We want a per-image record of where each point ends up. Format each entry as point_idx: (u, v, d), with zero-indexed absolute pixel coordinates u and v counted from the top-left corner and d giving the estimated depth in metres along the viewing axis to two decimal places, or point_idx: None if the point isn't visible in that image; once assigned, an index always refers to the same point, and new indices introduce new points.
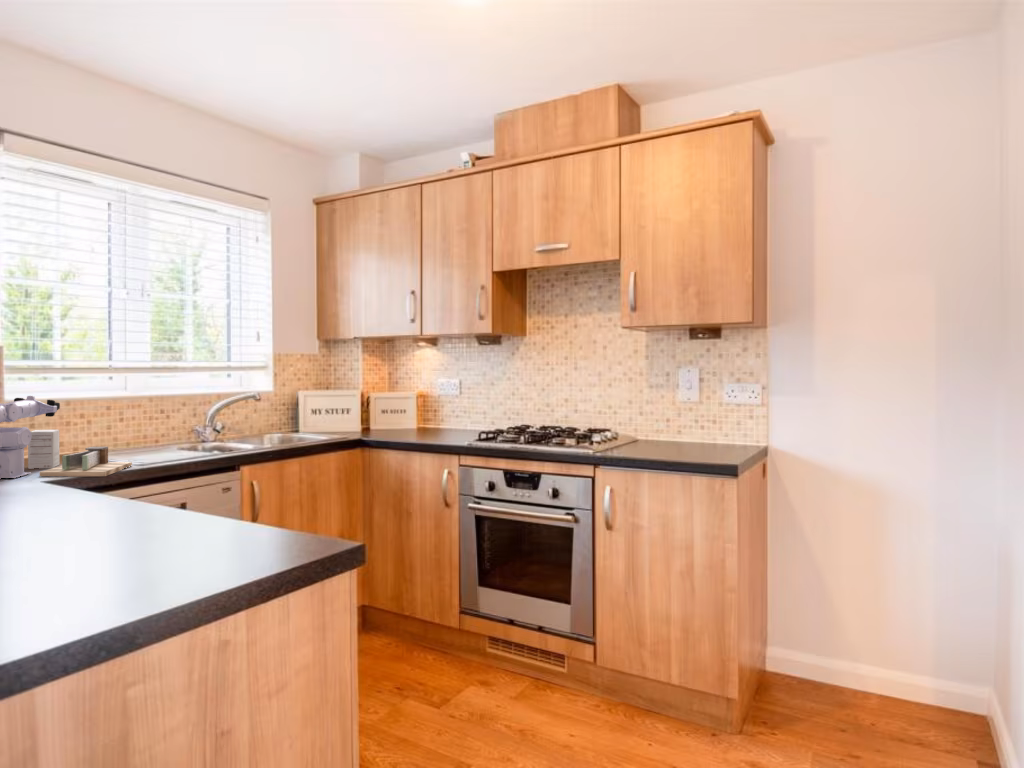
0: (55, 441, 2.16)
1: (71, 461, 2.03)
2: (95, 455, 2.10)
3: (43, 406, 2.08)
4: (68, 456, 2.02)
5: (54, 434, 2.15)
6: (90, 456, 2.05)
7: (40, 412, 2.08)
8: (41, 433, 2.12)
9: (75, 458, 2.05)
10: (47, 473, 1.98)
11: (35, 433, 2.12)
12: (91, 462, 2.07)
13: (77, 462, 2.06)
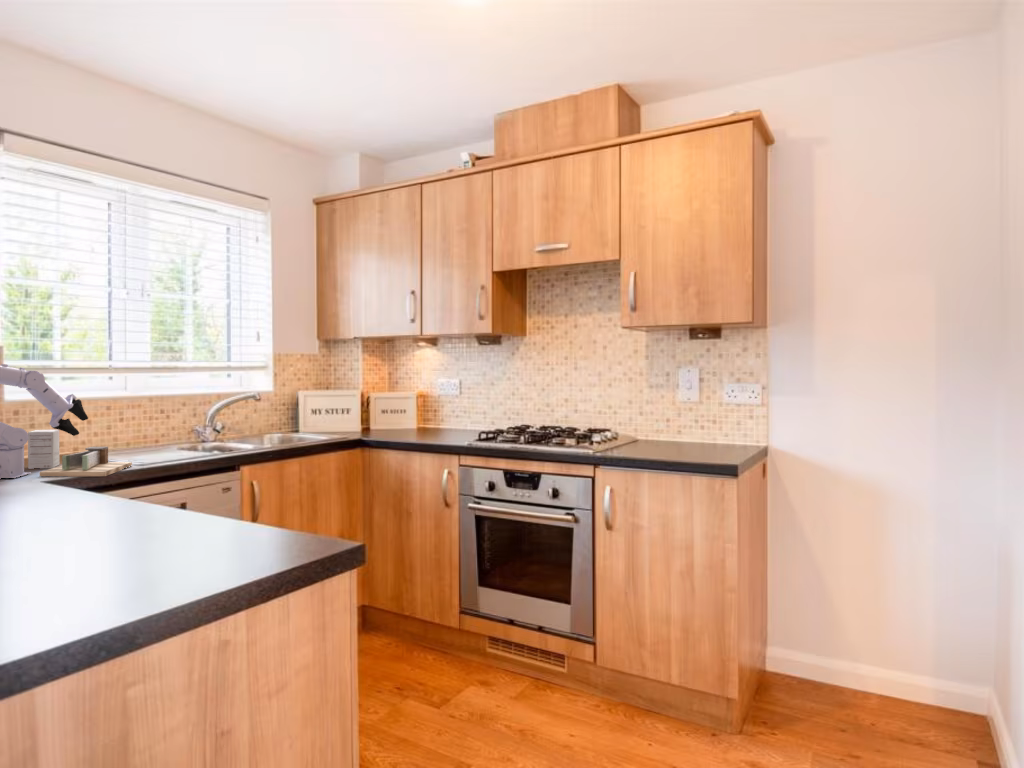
0: (55, 441, 2.16)
1: (71, 461, 2.03)
2: (95, 455, 2.10)
3: None
4: (68, 456, 2.02)
5: (54, 434, 2.15)
6: (90, 456, 2.05)
7: (54, 416, 2.08)
8: (41, 433, 2.12)
9: (75, 458, 2.05)
10: (47, 473, 1.98)
11: (35, 433, 2.12)
12: (91, 462, 2.07)
13: (77, 462, 2.06)
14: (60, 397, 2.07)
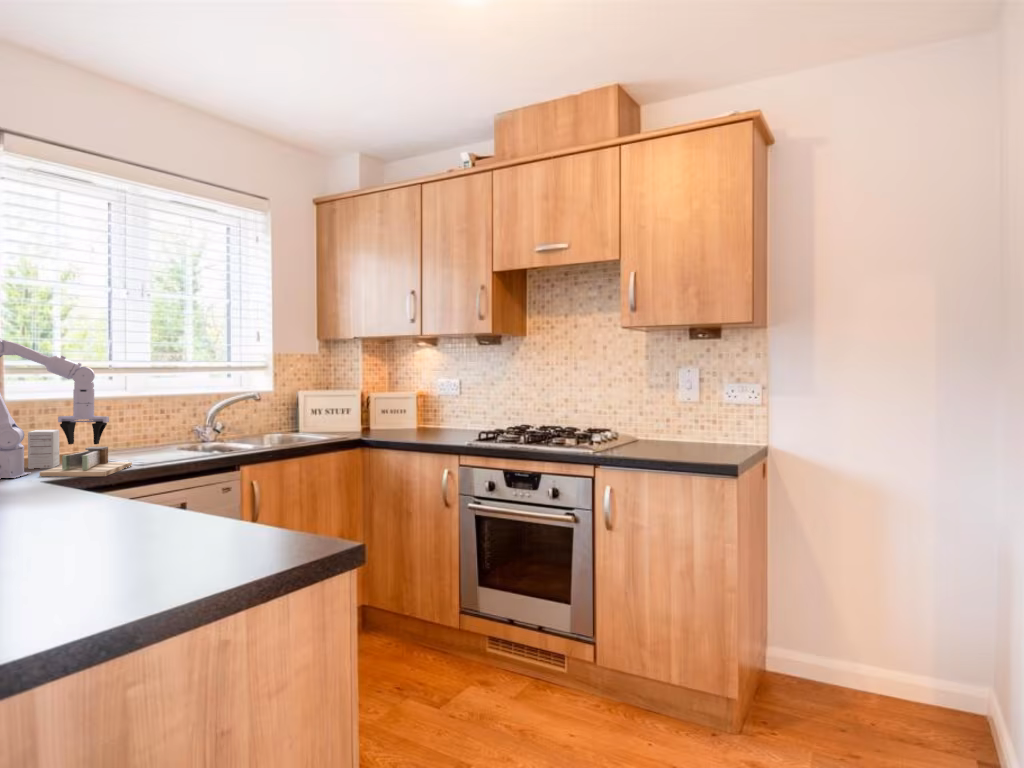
0: (55, 441, 2.16)
1: (71, 461, 2.03)
2: (95, 455, 2.10)
3: None
4: (68, 456, 2.02)
5: (54, 434, 2.15)
6: (90, 456, 2.05)
7: None
8: (41, 433, 2.12)
9: (75, 458, 2.05)
10: (47, 473, 1.98)
11: (35, 433, 2.12)
12: (91, 462, 2.07)
13: (77, 462, 2.06)
14: (80, 405, 2.04)
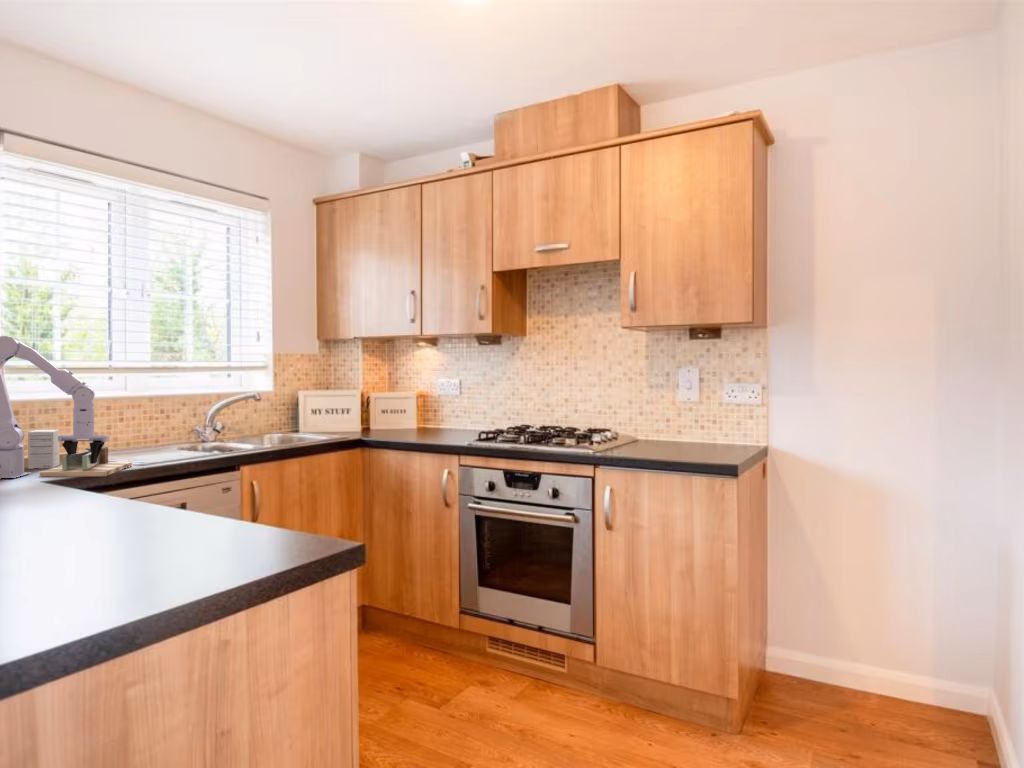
0: (55, 441, 2.16)
1: (71, 461, 2.03)
2: None
3: None
4: (68, 456, 2.02)
5: (54, 434, 2.15)
6: (90, 456, 2.05)
7: None
8: (41, 433, 2.12)
9: (75, 458, 2.05)
10: (47, 473, 1.98)
11: (35, 433, 2.12)
12: None
13: (77, 462, 2.06)
14: (80, 425, 2.04)
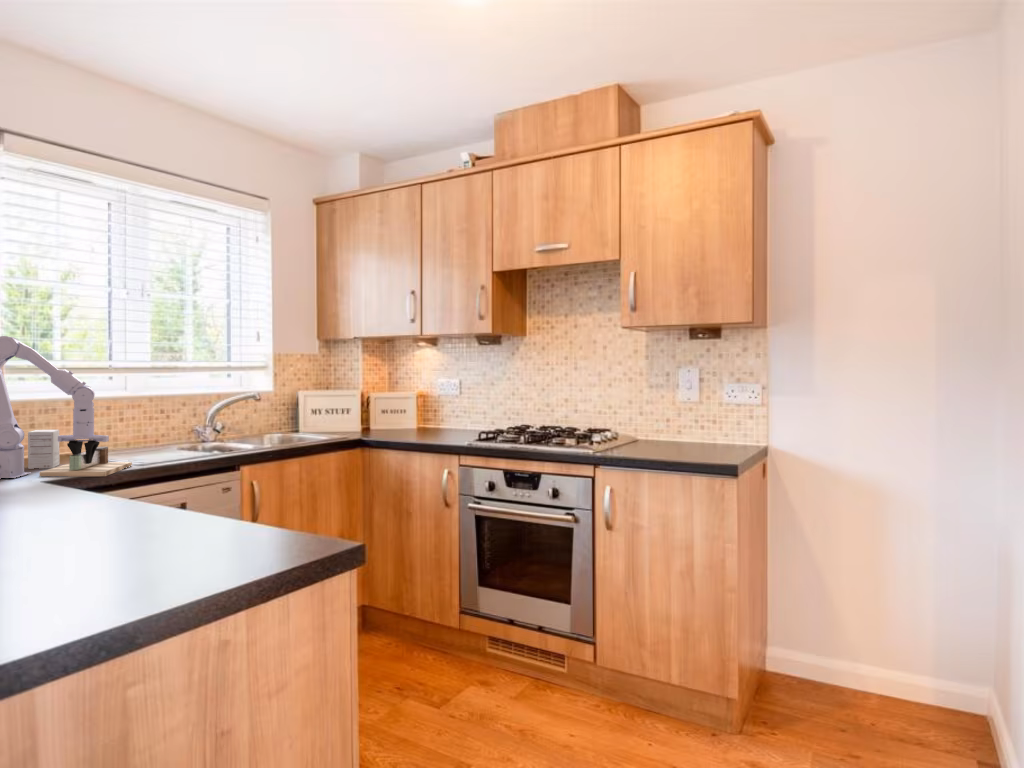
0: (55, 441, 2.16)
1: None
2: None
3: None
4: None
5: (54, 434, 2.15)
6: (84, 456, 2.05)
7: None
8: (41, 433, 2.12)
9: None
10: (47, 473, 1.98)
11: (35, 433, 2.12)
12: None
13: None
14: (80, 425, 2.04)
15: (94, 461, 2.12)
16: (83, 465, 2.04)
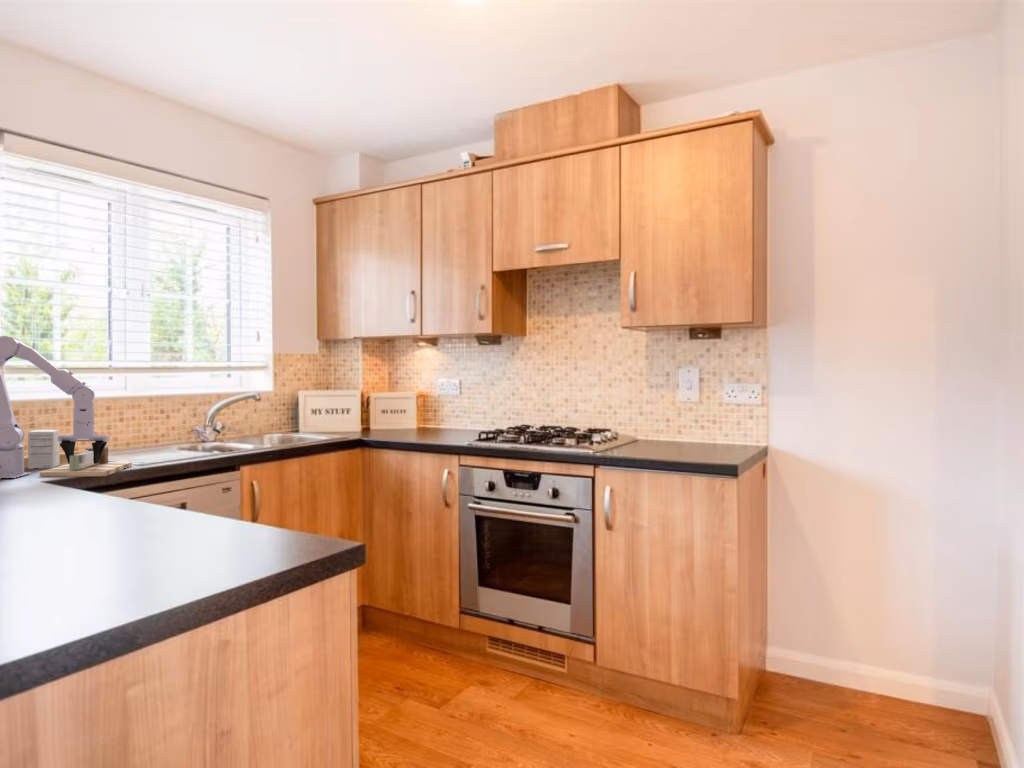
0: (55, 441, 2.16)
1: None
2: (92, 455, 2.10)
3: None
4: None
5: (54, 434, 2.15)
6: (84, 456, 2.05)
7: None
8: (41, 433, 2.12)
9: None
10: (47, 473, 1.98)
11: (35, 433, 2.12)
12: (86, 462, 2.06)
13: None
14: (80, 425, 2.04)
15: None
16: (83, 465, 2.04)
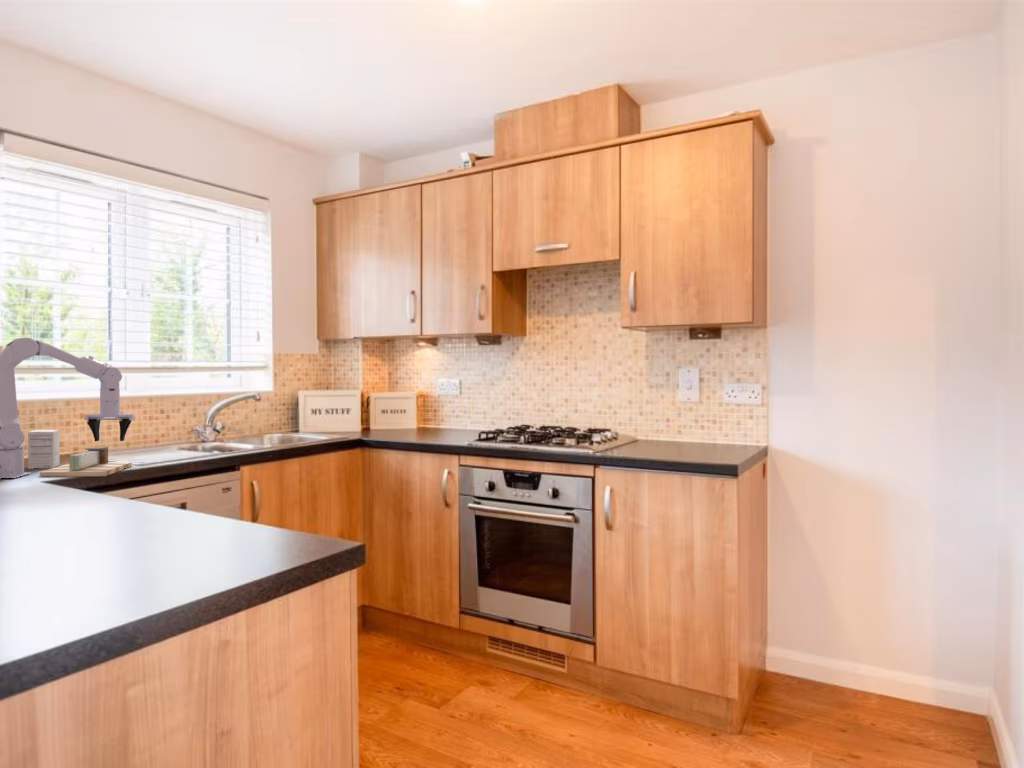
0: (55, 441, 2.16)
1: None
2: (92, 455, 2.10)
3: None
4: None
5: (54, 434, 2.15)
6: (84, 456, 2.05)
7: None
8: (41, 433, 2.12)
9: None
10: (47, 473, 1.98)
11: (35, 433, 2.12)
12: (86, 462, 2.06)
13: None
14: (108, 404, 2.14)
15: (94, 461, 2.12)
16: (83, 465, 2.04)
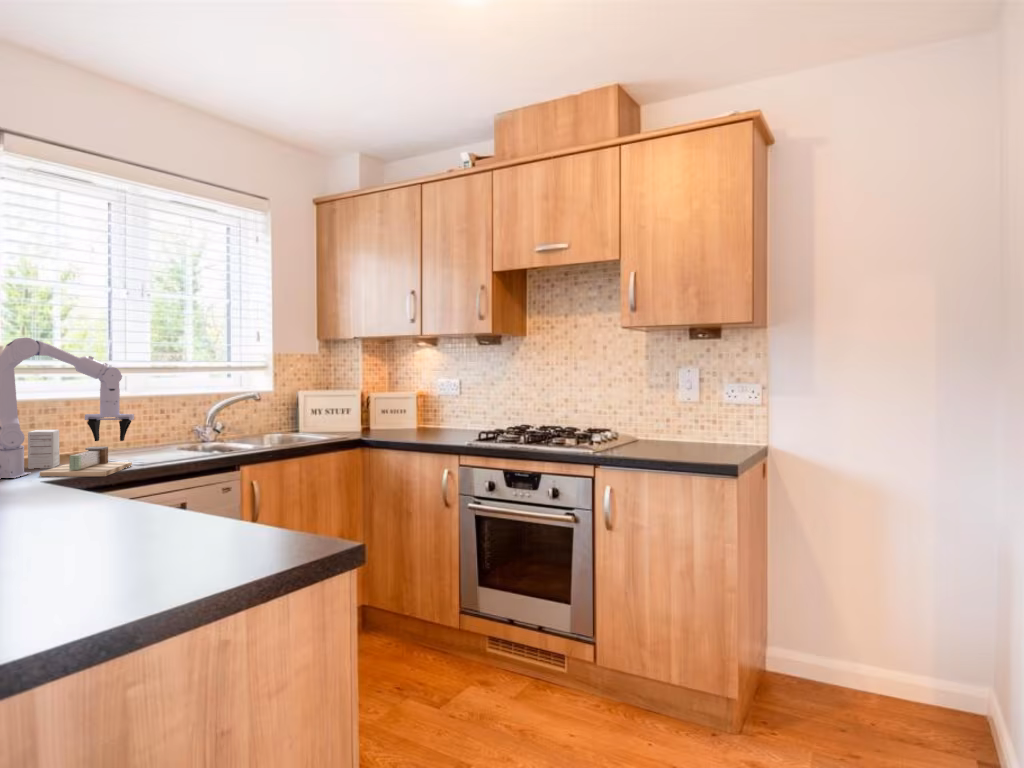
0: (55, 441, 2.16)
1: None
2: (92, 455, 2.10)
3: None
4: None
5: (54, 434, 2.15)
6: (84, 456, 2.05)
7: None
8: (41, 433, 2.12)
9: None
10: (47, 473, 1.98)
11: (35, 433, 2.12)
12: (86, 462, 2.06)
13: None
14: (108, 404, 2.14)
15: (94, 461, 2.12)
16: (83, 465, 2.04)
